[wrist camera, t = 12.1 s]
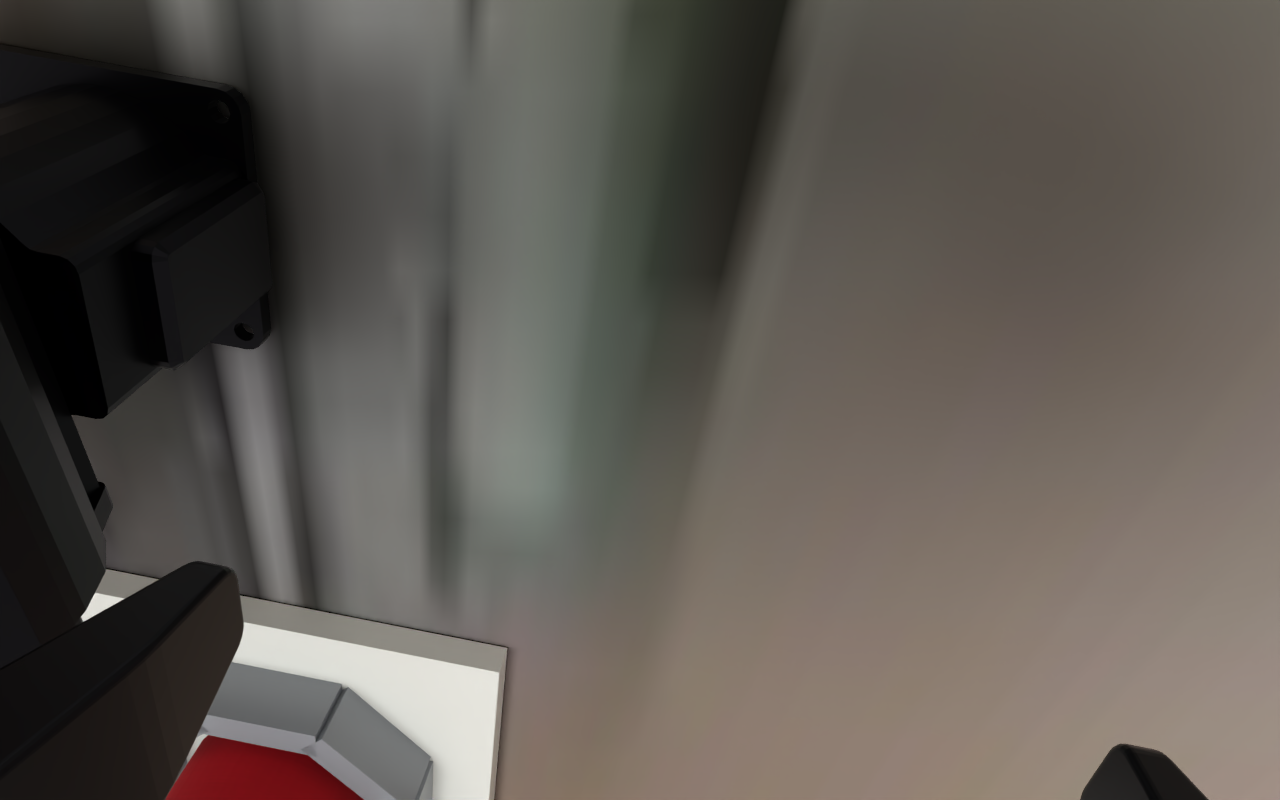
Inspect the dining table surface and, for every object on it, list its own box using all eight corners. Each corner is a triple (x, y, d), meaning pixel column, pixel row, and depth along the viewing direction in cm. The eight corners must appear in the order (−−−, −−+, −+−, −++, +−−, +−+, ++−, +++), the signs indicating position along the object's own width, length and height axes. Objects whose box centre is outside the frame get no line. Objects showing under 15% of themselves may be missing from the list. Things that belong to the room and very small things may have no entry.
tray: (-111, 764, 36) (-177, 832, 34) (-245, 500, 29) (-343, 562, 26) (486, 887, 36) (464, 966, 33) (507, 648, 28) (481, 726, 26)
